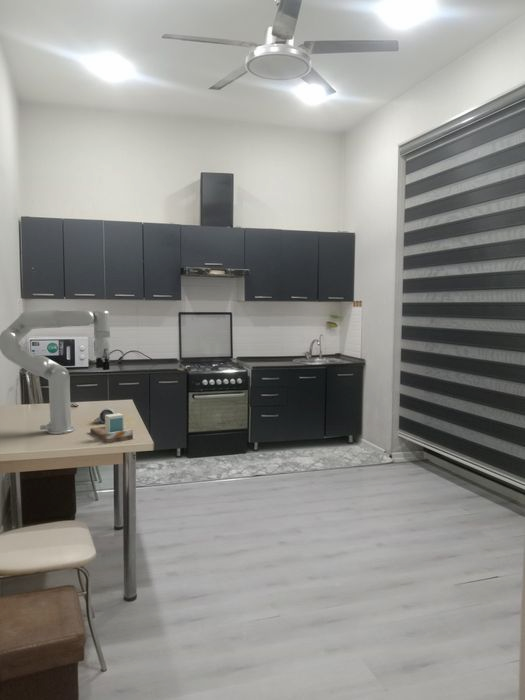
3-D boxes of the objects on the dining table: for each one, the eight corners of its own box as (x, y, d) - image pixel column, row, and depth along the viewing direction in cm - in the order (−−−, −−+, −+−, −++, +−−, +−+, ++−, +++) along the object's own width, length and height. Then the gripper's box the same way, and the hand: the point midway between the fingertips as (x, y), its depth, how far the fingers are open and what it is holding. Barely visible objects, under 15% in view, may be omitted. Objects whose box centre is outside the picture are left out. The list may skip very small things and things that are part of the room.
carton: (105, 433, 241) (104, 414, 240) (119, 431, 245) (119, 413, 244) (109, 436, 237) (108, 416, 236) (123, 433, 241) (123, 414, 240)
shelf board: (107, 443, 231) (107, 433, 231) (90, 432, 251) (90, 423, 250) (133, 439, 239) (132, 429, 238) (114, 429, 258) (114, 420, 258)
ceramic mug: (115, 419, 278) (115, 406, 278) (114, 423, 271) (113, 409, 270) (95, 421, 276) (94, 407, 276) (93, 424, 268) (92, 410, 268)
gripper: (88, 334, 262) (89, 367, 263) (100, 336, 248) (101, 371, 249) (103, 333, 266) (104, 366, 267) (115, 335, 252) (116, 370, 254)
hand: (102, 368), depth 258 cm, fingers open, 9 cm apart
